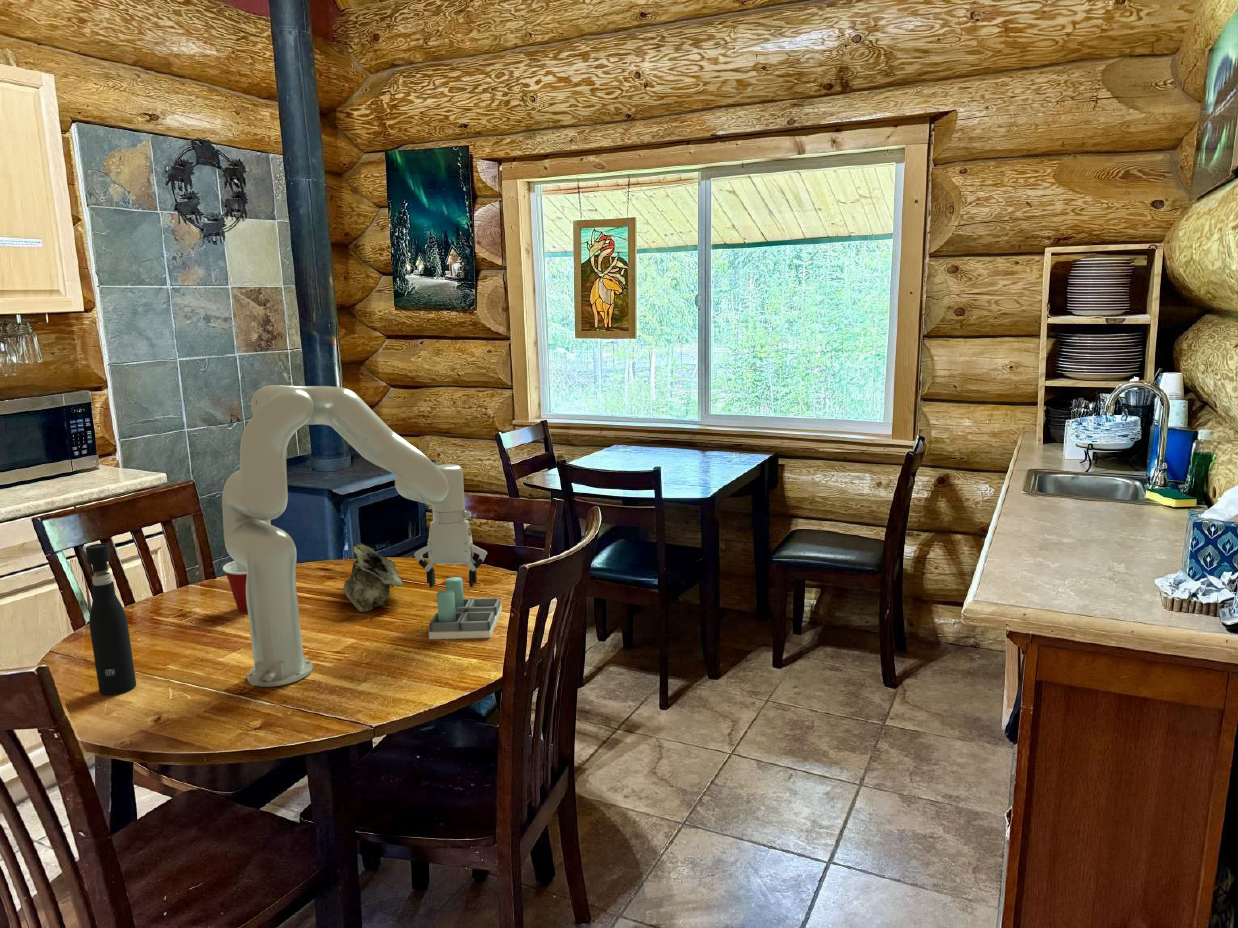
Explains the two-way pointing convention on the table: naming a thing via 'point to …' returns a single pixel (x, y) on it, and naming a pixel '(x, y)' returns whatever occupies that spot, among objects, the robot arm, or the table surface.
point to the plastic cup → (237, 583)
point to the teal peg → (456, 590)
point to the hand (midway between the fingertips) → (452, 585)
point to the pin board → (464, 617)
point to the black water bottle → (109, 628)
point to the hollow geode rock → (370, 579)
